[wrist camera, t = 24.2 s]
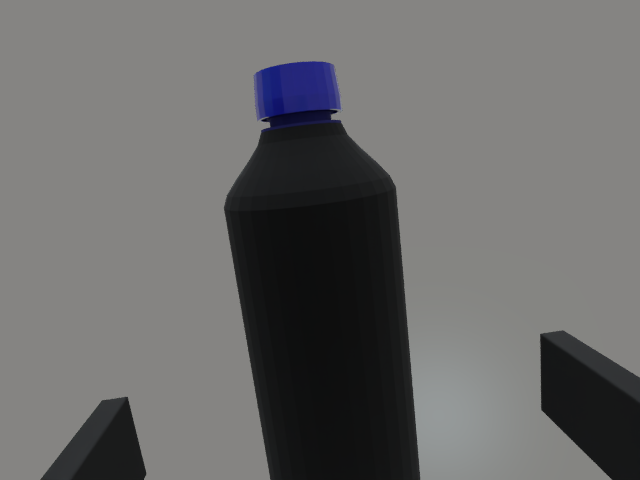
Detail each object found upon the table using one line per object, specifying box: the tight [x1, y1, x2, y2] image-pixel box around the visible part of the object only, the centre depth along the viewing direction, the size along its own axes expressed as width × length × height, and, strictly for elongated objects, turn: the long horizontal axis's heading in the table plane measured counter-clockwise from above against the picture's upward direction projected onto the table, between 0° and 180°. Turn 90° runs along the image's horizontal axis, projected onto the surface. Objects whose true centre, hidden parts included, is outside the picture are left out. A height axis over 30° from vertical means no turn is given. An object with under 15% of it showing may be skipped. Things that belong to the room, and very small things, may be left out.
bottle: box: [224, 62, 420, 480], centre depth 23 cm, size 9×9×28 cm
